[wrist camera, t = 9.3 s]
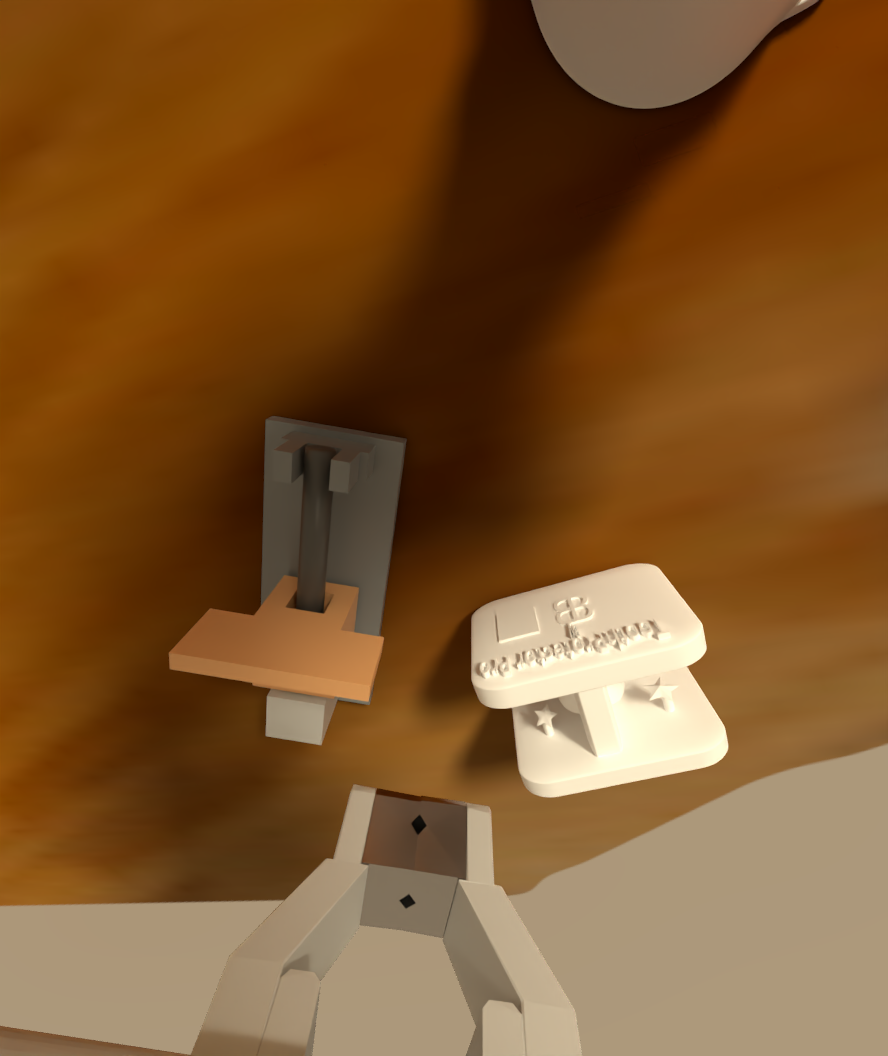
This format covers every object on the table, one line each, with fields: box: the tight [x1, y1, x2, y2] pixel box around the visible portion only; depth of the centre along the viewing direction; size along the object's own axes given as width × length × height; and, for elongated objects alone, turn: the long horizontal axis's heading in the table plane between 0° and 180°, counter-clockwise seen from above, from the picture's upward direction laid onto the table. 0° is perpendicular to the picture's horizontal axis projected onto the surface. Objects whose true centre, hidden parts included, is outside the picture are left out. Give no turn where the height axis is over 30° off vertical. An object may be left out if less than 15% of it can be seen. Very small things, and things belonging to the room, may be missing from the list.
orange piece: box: [169, 575, 384, 702], centre depth 36 cm, size 6×12×11 cm, turn 81°
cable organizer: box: [471, 564, 728, 797], centre depth 37 cm, size 15×11×12 cm
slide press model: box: [261, 416, 407, 745], centre depth 38 cm, size 24×10×7 cm, turn 171°
